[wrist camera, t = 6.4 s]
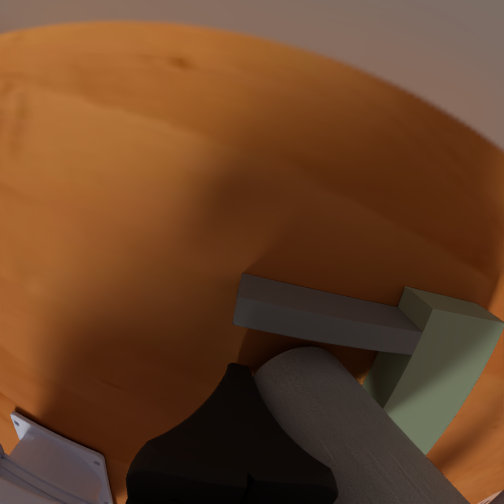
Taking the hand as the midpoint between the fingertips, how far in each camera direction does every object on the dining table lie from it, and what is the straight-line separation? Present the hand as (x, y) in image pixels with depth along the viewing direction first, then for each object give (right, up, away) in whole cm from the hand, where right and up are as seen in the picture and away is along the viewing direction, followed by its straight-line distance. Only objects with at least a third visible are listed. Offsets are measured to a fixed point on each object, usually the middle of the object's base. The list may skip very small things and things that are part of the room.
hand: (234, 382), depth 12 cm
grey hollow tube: (+2, 0, +1) cm, 3 cm away
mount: (+4, -1, +1) cm, 4 cm away
